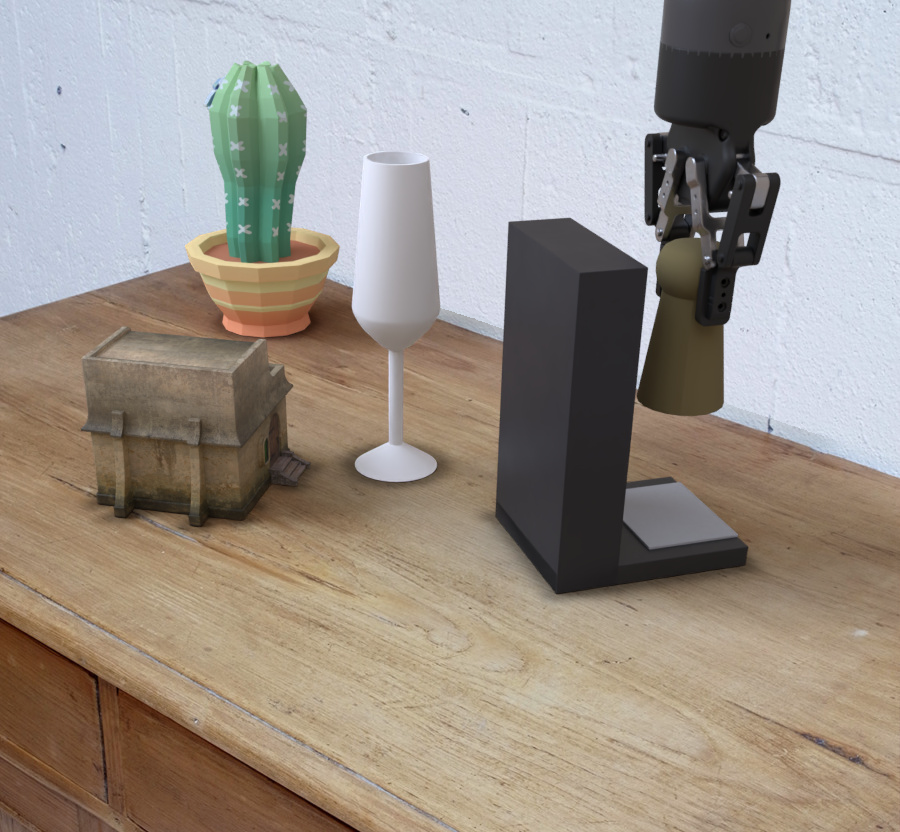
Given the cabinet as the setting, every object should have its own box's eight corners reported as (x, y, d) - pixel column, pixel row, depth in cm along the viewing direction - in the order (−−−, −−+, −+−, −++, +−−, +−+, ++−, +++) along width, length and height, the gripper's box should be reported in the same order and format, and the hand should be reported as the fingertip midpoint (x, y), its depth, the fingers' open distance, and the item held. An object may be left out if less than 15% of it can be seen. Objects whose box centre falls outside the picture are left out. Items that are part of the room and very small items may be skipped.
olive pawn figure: (652, 377, 95) (668, 224, 89) (734, 393, 93) (756, 237, 87) (624, 405, 90) (639, 246, 85) (709, 422, 88) (731, 259, 82)
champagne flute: (371, 442, 110) (369, 144, 98) (448, 454, 108) (455, 152, 96) (341, 474, 104) (334, 163, 92) (421, 487, 103) (425, 171, 90)
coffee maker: (669, 493, 103) (702, 208, 91) (745, 565, 93) (794, 256, 82) (495, 516, 98) (508, 221, 87) (556, 594, 89) (579, 272, 78)
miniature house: (263, 533, 95) (254, 385, 89) (82, 512, 98) (62, 366, 92) (321, 451, 108) (317, 316, 102) (160, 434, 110) (147, 301, 104)
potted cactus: (342, 299, 143) (336, 52, 130) (341, 348, 129) (335, 78, 117) (198, 299, 142) (179, 50, 129) (182, 348, 128) (159, 76, 116)
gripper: (842, 54, 75) (796, 340, 83) (720, 21, 86) (691, 275, 95) (725, 57, 73) (690, 351, 81) (616, 23, 84) (596, 283, 93)
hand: (690, 309), depth 88 cm, fingers closed on olive pawn figure, 5 cm apart
